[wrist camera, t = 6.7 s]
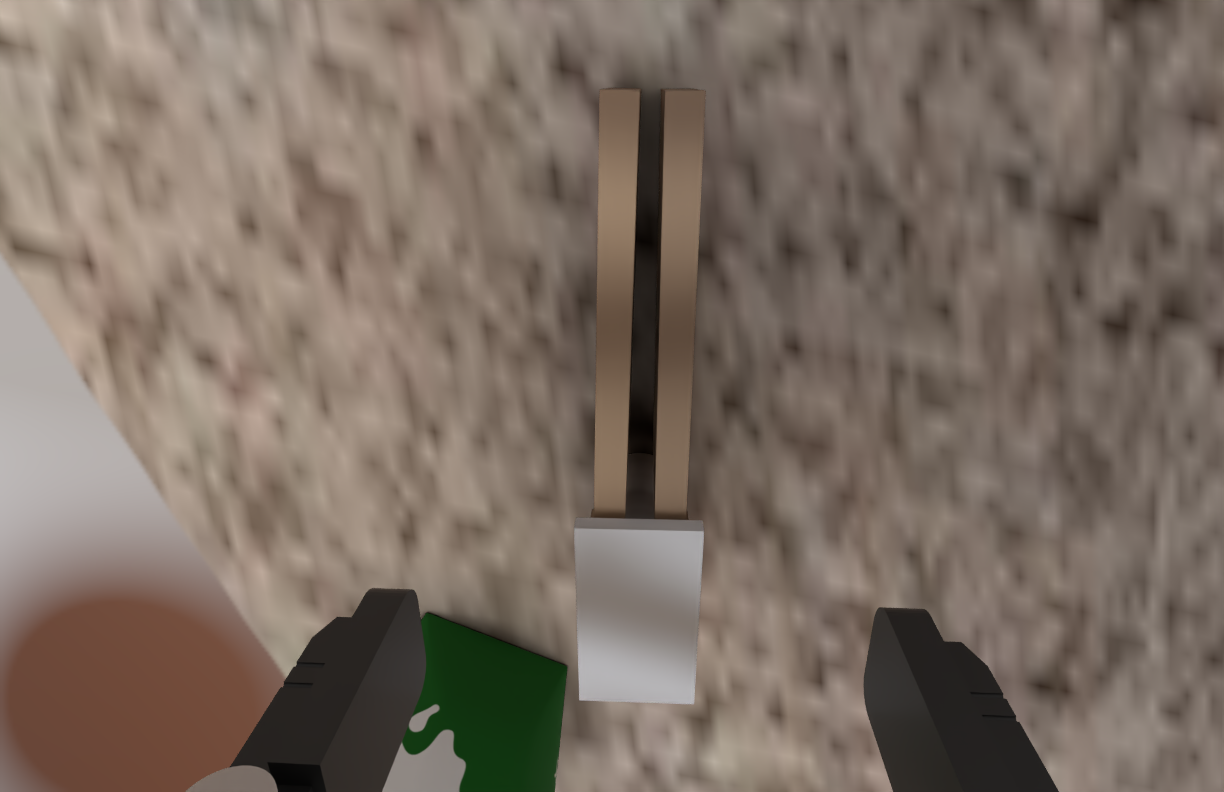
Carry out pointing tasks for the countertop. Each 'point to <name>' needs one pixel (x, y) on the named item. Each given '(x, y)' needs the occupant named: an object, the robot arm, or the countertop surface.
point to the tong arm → (617, 312)
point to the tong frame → (670, 543)
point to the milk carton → (481, 717)
